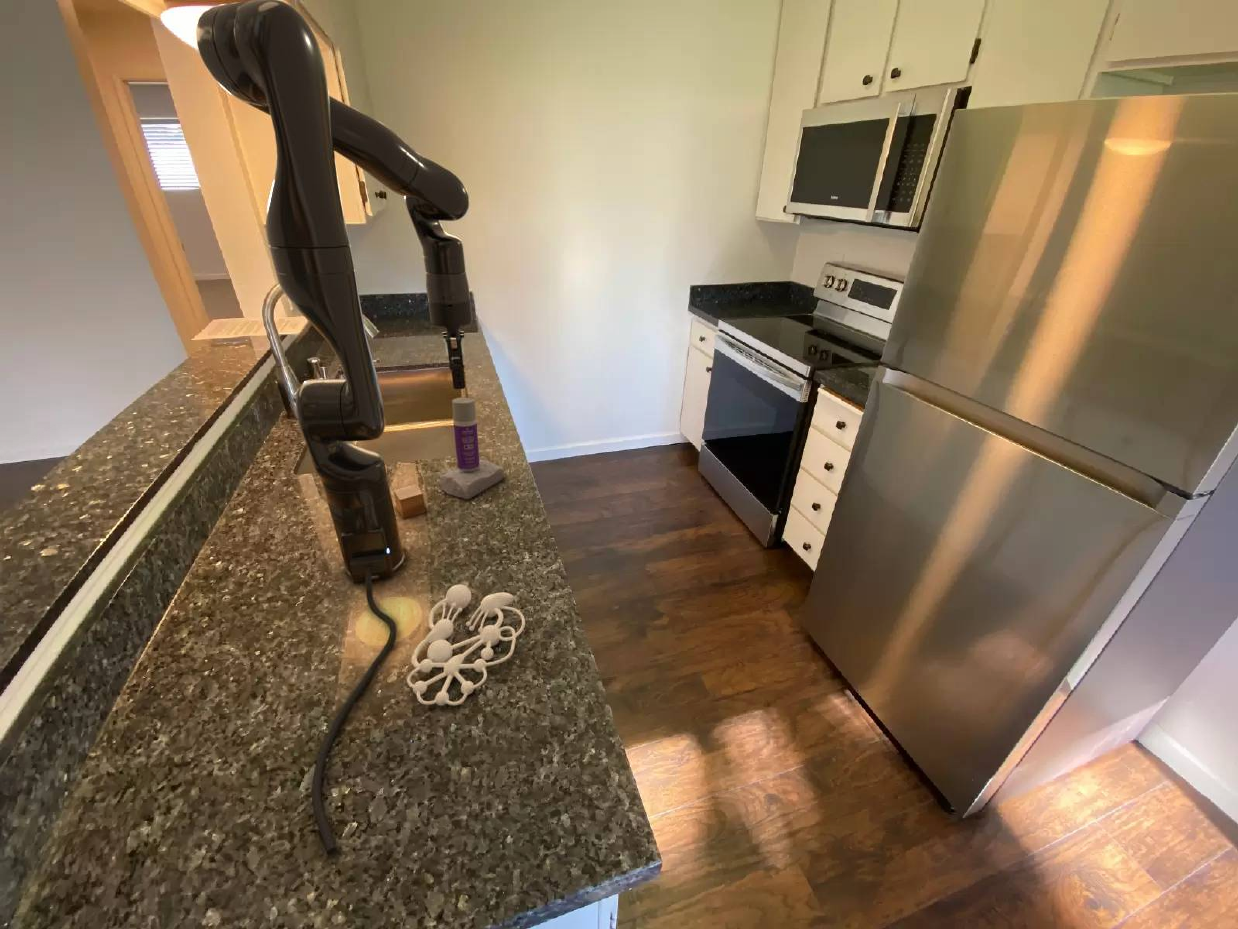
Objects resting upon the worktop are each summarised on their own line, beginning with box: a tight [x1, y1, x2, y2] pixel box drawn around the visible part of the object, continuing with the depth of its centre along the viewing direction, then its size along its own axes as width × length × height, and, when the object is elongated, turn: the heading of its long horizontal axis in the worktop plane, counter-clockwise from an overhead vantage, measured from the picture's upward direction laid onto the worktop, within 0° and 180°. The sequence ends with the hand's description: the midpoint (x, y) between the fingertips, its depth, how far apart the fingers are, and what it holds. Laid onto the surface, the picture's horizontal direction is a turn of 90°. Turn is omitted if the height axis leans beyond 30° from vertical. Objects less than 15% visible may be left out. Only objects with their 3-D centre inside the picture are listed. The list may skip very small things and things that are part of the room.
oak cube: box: [392, 483, 427, 520], centre depth 104 cm, size 4×4×4 cm
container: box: [451, 397, 480, 471], centre depth 110 cm, size 5×5×15 cm
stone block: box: [439, 459, 505, 500], centre depth 114 cm, size 12×5×10 cm
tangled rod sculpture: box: [406, 583, 526, 707], centre depth 73 cm, size 19×14×4 cm
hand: (459, 381), depth 104 cm, fingers open, 8 cm apart
